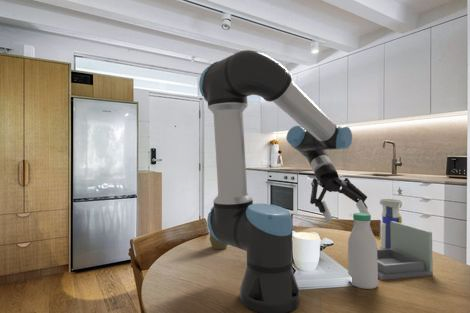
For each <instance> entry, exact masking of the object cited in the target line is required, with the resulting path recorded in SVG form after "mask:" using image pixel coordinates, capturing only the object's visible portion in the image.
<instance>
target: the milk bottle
mask: <svg viewBox="0 0 470 313" xmlns="http://www.w3.org/2000/svg"><path fill="white" fill-rule="evenodd" d="M370 215H371V214H370V213H369V214H366V213H360V212H355V213H353V215H352V216H353V217H352V218H353V219H352V221H353V225H352V226H353V228H351V229H352V230H351V232H350V234H349V236H348V240H347V275H348V274H349V275H350V276H351V277H352V284H351V285H352V286H354V287H355V288H356V287H357V288H359V289H366V290H372V289H376V288H377V287H378V284H379V282H378V279H379V278H378V264H377V249H378V244H377V240H376V238H375V235H374V233H373V230H372V228H371V218H372V216H370Z"/></svg>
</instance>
